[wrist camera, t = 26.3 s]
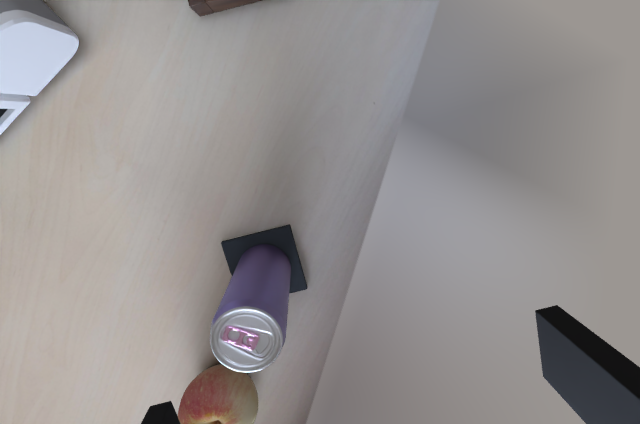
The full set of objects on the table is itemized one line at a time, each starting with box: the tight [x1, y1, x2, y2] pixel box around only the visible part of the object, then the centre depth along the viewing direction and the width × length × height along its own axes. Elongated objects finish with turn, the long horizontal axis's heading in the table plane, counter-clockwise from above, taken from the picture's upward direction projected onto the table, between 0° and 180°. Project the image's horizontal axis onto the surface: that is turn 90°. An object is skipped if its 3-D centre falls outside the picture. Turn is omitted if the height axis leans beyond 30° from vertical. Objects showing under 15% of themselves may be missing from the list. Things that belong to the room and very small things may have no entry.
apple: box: [178, 364, 258, 424], centre depth 44 cm, size 9×9×8 cm
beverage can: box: [210, 244, 291, 372], centre depth 36 cm, size 6×6×15 cm
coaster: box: [221, 225, 307, 293], centre depth 44 cm, size 8×8×1 cm
